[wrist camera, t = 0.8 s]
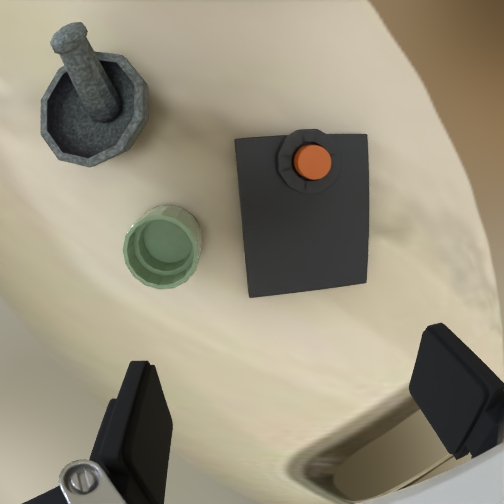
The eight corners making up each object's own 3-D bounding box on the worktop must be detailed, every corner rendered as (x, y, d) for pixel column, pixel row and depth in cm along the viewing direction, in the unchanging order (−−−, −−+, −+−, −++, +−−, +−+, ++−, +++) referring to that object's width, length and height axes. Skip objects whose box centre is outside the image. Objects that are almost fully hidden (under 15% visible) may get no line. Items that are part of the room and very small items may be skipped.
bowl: (132, 209, 31) (116, 220, 26) (197, 200, 31) (193, 210, 26) (143, 271, 33) (131, 291, 28) (206, 265, 33) (203, 285, 28)
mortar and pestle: (160, 157, 29) (123, 166, 18) (75, 166, 29) (8, 182, 17) (161, 49, 26) (128, 2, 14) (75, 64, 25) (13, 35, 14)
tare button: (292, 145, 27) (296, 145, 26) (324, 144, 28) (330, 144, 26) (294, 178, 28) (298, 180, 27) (326, 176, 29) (332, 178, 27)
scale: (234, 134, 29) (235, 133, 26) (361, 130, 30) (374, 129, 27) (248, 292, 35) (250, 305, 32) (361, 278, 35) (372, 289, 32)
